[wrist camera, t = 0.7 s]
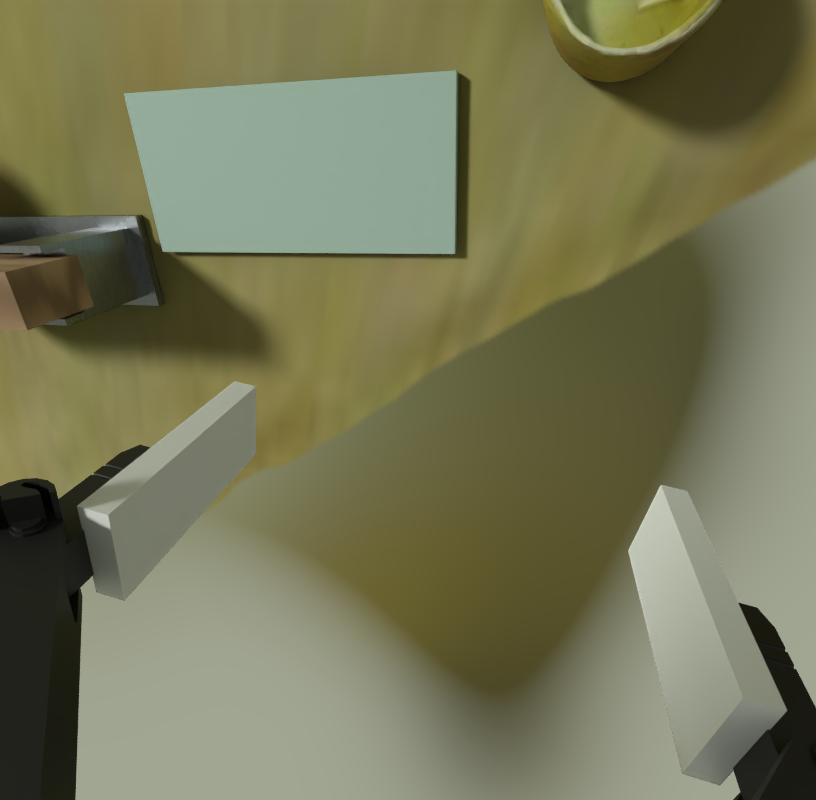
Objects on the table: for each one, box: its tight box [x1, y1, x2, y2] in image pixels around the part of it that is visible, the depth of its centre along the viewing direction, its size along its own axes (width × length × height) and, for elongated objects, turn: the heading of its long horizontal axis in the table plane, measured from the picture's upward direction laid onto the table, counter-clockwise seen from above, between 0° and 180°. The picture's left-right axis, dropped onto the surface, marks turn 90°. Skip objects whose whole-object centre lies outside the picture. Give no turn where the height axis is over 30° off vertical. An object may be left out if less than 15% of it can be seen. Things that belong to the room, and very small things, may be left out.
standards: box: [0, 215, 164, 326], centre depth 44 cm, size 8×22×10 cm, turn 92°
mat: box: [124, 70, 458, 254], centre depth 39 cm, size 12×26×1 cm, turn 92°
